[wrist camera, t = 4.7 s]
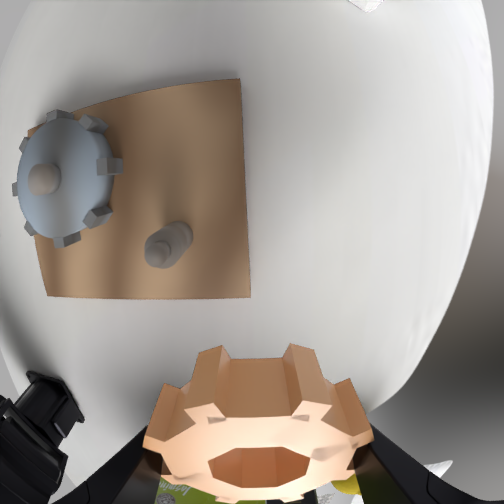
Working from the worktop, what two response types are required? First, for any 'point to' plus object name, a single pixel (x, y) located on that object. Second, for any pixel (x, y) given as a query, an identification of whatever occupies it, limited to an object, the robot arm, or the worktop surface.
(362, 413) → the gear
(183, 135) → the gear board
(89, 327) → the worktop surface
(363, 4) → the pepper shaker
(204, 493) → the tea box
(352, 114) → the worktop surface
